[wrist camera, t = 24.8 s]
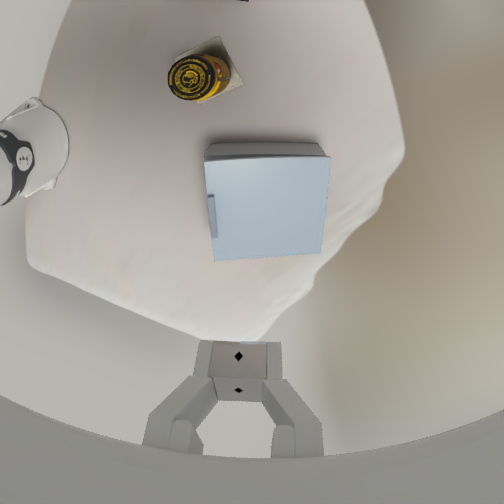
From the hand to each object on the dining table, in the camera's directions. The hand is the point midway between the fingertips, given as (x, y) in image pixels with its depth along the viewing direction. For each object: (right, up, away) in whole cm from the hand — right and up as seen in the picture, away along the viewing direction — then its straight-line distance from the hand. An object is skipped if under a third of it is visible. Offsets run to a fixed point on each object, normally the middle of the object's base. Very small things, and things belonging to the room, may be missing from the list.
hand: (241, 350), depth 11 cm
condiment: (-6, +30, +25) cm, 39 cm away
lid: (+3, +9, +29) cm, 31 cm away
